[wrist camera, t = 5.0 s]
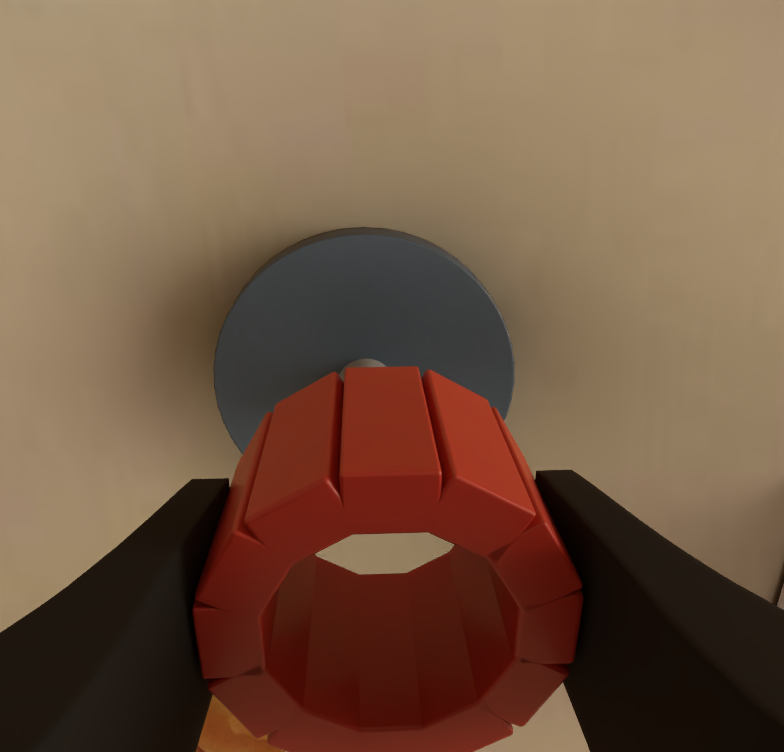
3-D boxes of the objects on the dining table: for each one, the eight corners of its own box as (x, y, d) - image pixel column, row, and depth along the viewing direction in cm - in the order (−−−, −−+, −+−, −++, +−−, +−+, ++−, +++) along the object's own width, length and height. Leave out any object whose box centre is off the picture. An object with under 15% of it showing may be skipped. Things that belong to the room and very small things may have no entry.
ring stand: (518, 226, 18) (587, 281, 12) (497, 489, 21) (545, 622, 16) (205, 228, 17) (137, 285, 12) (233, 496, 21) (190, 635, 15)
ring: (535, 362, 11) (605, 467, 8) (513, 604, 13) (562, 763, 10) (224, 368, 11) (169, 479, 8) (250, 612, 13) (216, 778, 10)
